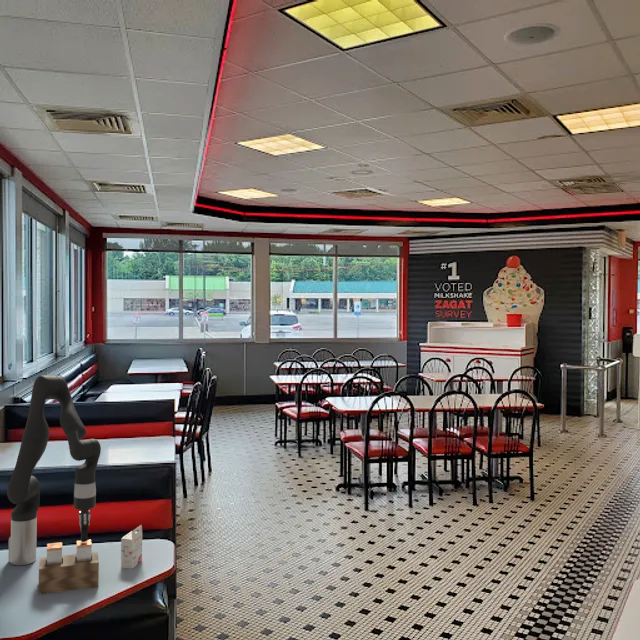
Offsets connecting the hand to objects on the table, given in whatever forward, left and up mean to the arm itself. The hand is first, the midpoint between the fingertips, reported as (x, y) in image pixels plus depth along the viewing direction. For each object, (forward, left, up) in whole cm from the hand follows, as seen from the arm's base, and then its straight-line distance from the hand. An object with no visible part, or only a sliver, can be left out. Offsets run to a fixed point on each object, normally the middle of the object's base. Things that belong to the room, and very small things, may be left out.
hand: (84, 541), depth 242 cm
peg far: (0, 0, -9) cm, 9 cm away
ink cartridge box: (+6, +21, -16) cm, 27 cm away
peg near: (-8, -7, -9) cm, 14 cm away
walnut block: (-4, -3, -16) cm, 16 cm away
